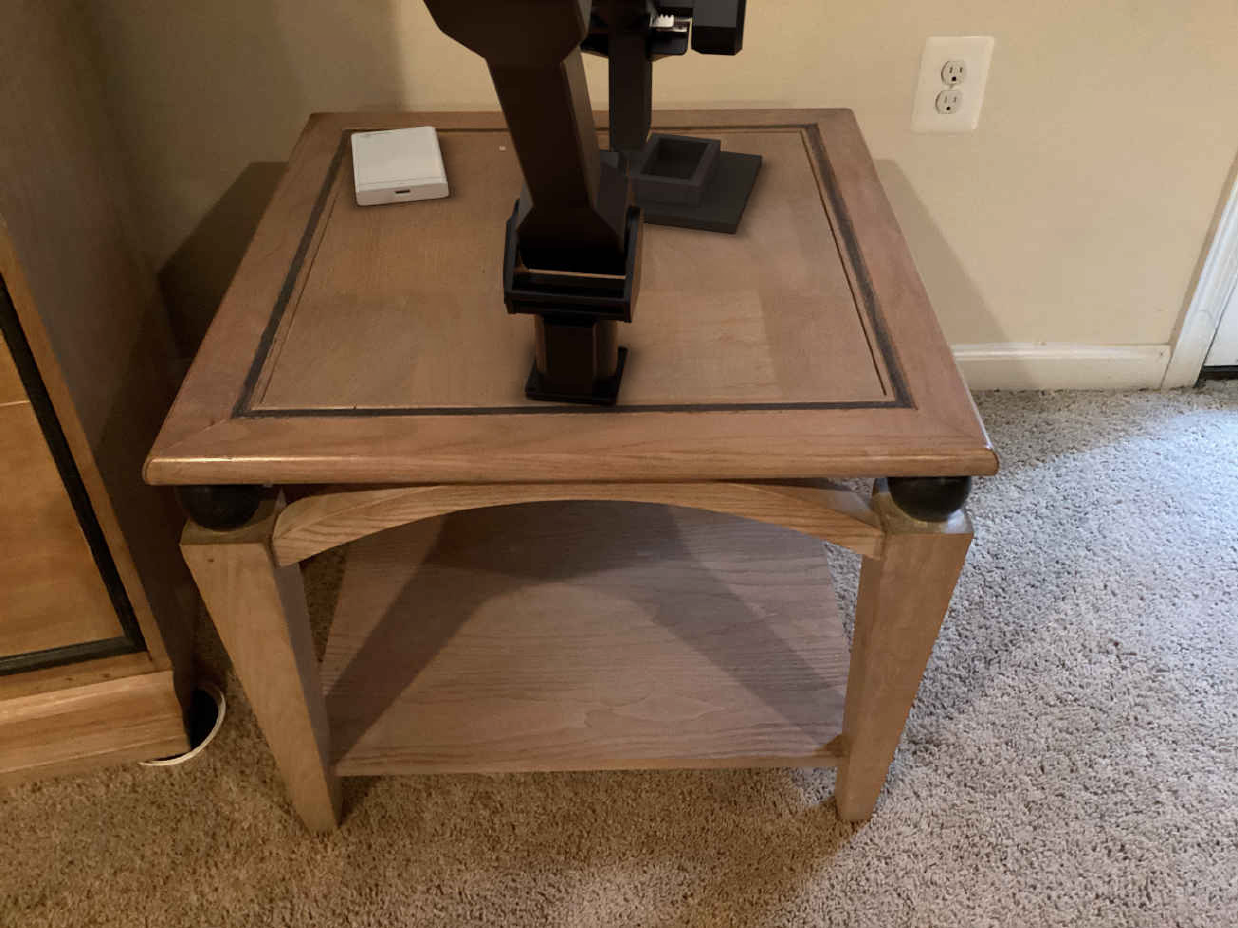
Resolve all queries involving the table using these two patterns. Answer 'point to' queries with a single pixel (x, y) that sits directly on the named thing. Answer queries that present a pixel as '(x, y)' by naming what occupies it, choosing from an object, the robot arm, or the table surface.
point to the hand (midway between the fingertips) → (633, 55)
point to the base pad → (691, 182)
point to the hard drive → (398, 166)
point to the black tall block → (629, 91)
